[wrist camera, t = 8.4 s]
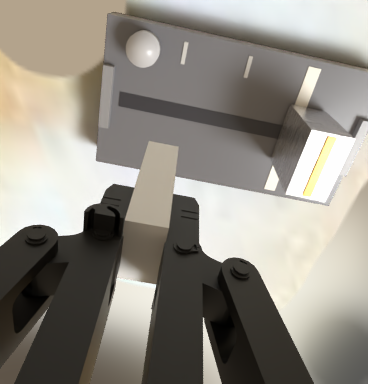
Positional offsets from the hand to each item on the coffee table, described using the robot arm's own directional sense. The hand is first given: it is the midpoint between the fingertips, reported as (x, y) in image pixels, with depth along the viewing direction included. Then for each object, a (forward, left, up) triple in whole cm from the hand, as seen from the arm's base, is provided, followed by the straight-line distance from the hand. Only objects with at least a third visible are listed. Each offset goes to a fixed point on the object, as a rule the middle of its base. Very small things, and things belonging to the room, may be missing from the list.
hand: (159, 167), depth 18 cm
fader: (+1, +11, -12) cm, 16 cm away
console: (+1, +5, -15) cm, 16 cm away
